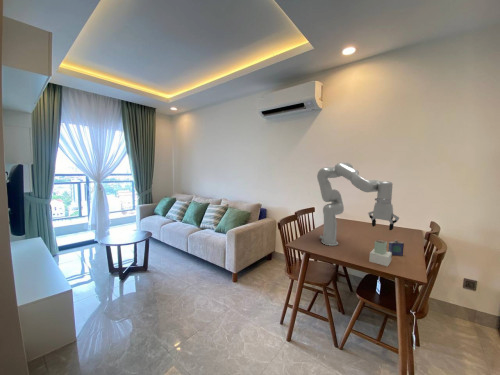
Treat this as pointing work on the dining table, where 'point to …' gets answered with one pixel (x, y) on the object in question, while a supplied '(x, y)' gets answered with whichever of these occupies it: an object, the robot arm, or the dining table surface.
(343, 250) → the dining table surface
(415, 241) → the dining table surface
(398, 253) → the flask
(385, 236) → the dining table surface
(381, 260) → the cream box
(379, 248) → the open sage green box
